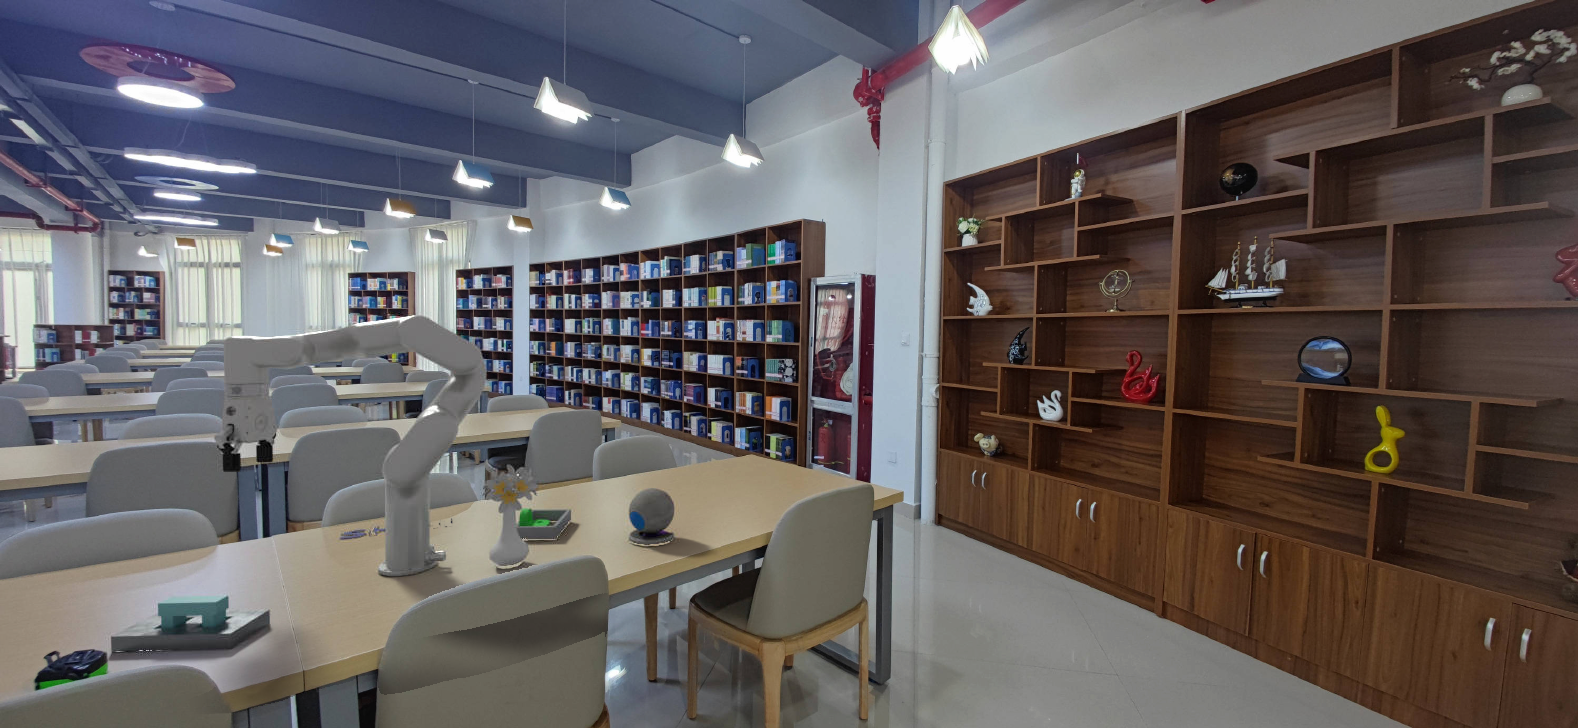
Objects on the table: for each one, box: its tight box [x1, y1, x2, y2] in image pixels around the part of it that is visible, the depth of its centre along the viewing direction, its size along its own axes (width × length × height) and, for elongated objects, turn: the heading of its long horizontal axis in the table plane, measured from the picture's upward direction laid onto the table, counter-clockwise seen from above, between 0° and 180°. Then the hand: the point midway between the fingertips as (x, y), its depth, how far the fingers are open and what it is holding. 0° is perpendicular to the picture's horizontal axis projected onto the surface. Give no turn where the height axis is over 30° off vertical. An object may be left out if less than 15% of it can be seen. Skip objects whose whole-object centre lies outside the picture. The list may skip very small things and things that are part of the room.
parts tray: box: [516, 508, 572, 539], centre depth 186 cm, size 12×18×4 cm, turn 6°
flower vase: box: [481, 464, 539, 566], centre depth 158 cm, size 13×18×25 cm
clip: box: [157, 595, 230, 629], centre depth 119 cm, size 10×3×8 cm, turn 96°
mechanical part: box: [518, 508, 551, 526], centre depth 186 cm, size 12×6×8 cm, turn 6°
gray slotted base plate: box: [110, 609, 271, 653], centre depth 119 cm, size 20×10×3 cm, turn 96°
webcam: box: [628, 487, 675, 545], centre depth 181 cm, size 13×13×15 cm
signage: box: [339, 527, 385, 540], centre depth 186 cm, size 28×1×10 cm
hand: (248, 466), depth 140 cm, fingers open, 9 cm apart
